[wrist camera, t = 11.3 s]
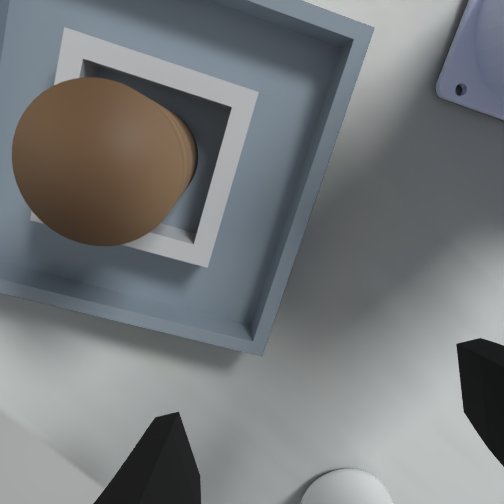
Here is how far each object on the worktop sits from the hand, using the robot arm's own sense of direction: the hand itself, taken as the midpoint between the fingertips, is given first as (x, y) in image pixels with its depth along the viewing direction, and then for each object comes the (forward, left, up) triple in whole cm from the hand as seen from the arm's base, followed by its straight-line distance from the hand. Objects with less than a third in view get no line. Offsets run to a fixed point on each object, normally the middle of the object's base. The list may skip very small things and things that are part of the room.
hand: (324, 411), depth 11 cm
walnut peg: (+7, -4, -10) cm, 13 cm away
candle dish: (+7, -4, -10) cm, 13 cm away
